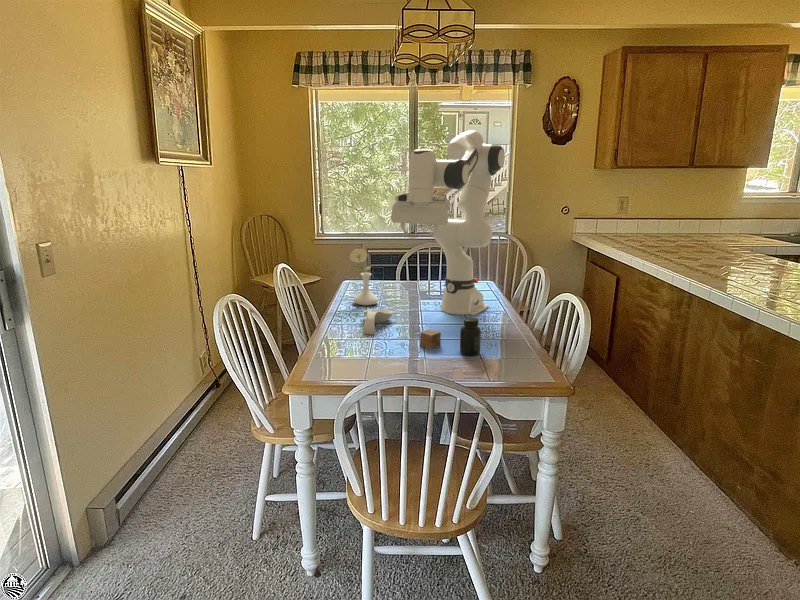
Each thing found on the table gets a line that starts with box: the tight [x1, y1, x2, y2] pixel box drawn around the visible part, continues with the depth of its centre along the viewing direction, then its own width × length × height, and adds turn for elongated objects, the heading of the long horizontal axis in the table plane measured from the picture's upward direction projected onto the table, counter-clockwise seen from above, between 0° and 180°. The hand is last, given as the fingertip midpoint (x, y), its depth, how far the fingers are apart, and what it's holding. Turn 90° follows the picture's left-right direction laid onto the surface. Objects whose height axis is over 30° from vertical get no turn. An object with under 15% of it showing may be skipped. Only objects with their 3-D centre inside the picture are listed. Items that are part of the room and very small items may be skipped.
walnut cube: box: [419, 328, 442, 350], centre depth 176 cm, size 5×5×5 cm
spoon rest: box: [362, 308, 393, 335], centre depth 196 cm, size 24×12×7 cm, turn 172°
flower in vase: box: [348, 248, 380, 306], centre depth 223 cm, size 13×11×25 cm
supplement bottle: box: [459, 316, 482, 357], centre depth 168 cm, size 7×7×12 cm
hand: (419, 236), depth 180 cm, fingers open, 8 cm apart
